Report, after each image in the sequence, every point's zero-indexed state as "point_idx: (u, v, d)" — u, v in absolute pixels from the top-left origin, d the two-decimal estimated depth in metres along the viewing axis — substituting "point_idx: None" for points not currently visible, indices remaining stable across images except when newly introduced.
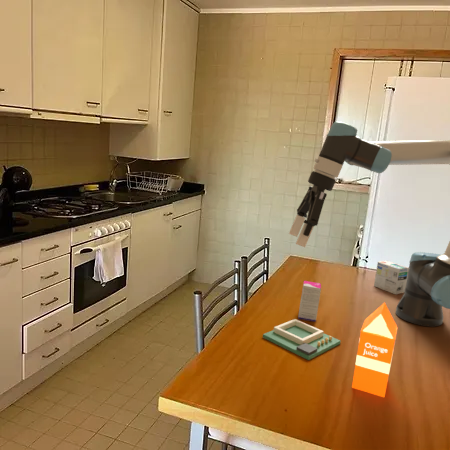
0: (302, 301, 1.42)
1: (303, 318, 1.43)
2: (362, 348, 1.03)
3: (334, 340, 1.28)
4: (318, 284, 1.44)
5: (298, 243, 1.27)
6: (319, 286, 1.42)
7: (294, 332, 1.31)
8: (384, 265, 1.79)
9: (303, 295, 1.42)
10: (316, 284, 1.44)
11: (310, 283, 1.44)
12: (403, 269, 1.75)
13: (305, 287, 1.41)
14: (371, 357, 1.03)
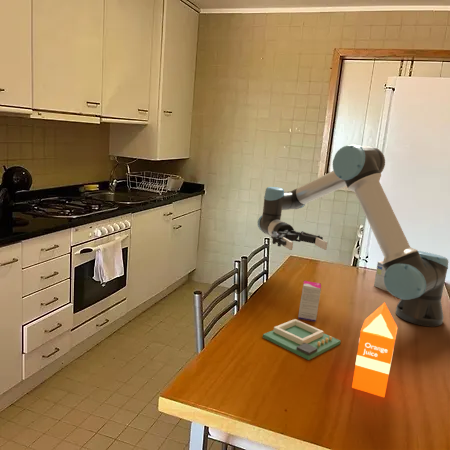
0: (302, 301, 1.42)
1: (303, 318, 1.43)
2: (362, 348, 1.03)
3: (334, 340, 1.28)
4: (318, 284, 1.44)
5: (289, 248, 1.51)
6: (319, 286, 1.42)
7: (294, 332, 1.31)
8: None
9: (303, 295, 1.42)
10: (316, 284, 1.44)
11: (310, 283, 1.44)
12: None
13: (305, 287, 1.41)
14: (371, 357, 1.03)
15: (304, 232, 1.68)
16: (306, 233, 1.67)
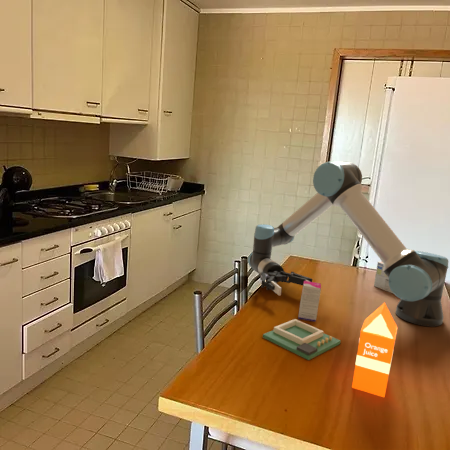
0: (302, 301, 1.42)
1: (303, 318, 1.43)
2: (362, 348, 1.03)
3: (334, 340, 1.28)
4: (318, 284, 1.44)
5: (278, 293, 1.49)
6: (319, 286, 1.42)
7: (294, 332, 1.31)
8: None
9: (303, 295, 1.42)
10: (316, 284, 1.44)
11: (310, 283, 1.44)
12: None
13: (305, 287, 1.41)
14: (371, 357, 1.03)
15: None
16: (296, 274, 1.65)
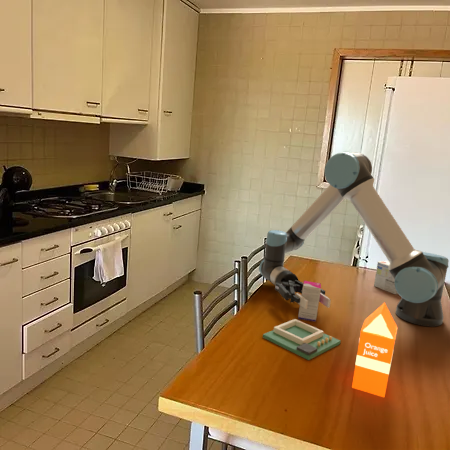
0: None
1: (303, 318, 1.43)
2: (362, 348, 1.03)
3: (334, 340, 1.28)
4: (318, 284, 1.44)
5: (304, 306, 1.39)
6: (319, 286, 1.42)
7: (294, 332, 1.31)
8: (384, 265, 1.79)
9: (303, 295, 1.42)
10: (316, 283, 1.44)
11: (310, 283, 1.44)
12: None
13: (305, 287, 1.41)
14: (371, 357, 1.03)
15: None
16: None
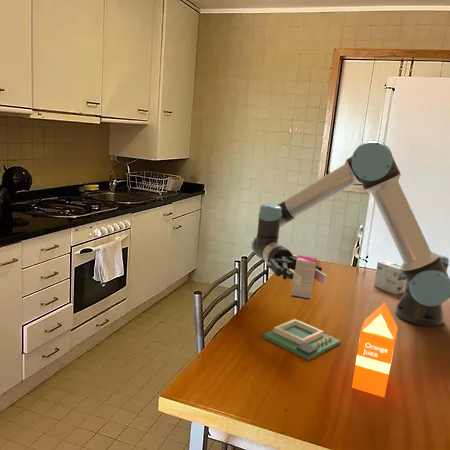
0: None
1: (296, 296, 1.29)
2: (362, 348, 1.03)
3: (334, 340, 1.28)
4: (313, 259, 1.30)
5: (297, 282, 1.25)
6: (314, 260, 1.28)
7: (294, 332, 1.31)
8: (384, 265, 1.79)
9: (296, 270, 1.28)
10: (311, 258, 1.30)
11: (304, 257, 1.30)
12: None
13: (298, 261, 1.27)
14: (371, 357, 1.03)
15: None
16: None
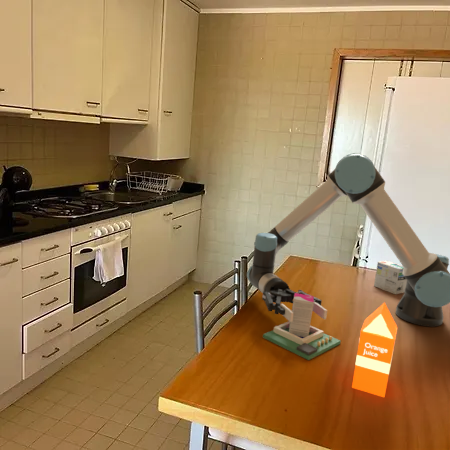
0: None
1: None
2: (362, 348, 1.03)
3: (334, 340, 1.28)
4: (310, 297, 1.29)
5: (289, 319, 1.23)
6: (311, 299, 1.27)
7: None
8: (384, 265, 1.79)
9: (293, 310, 1.26)
10: (308, 296, 1.29)
11: (301, 296, 1.29)
12: None
13: (296, 301, 1.26)
14: (371, 357, 1.03)
15: (302, 291, 1.41)
16: (303, 293, 1.39)
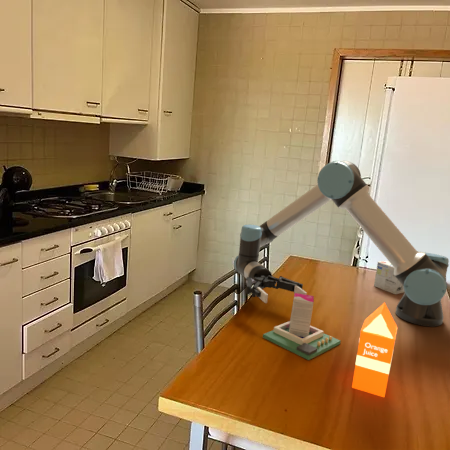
0: (292, 316, 1.27)
1: None
2: (362, 348, 1.03)
3: (334, 340, 1.28)
4: (310, 297, 1.29)
5: (264, 300, 1.35)
6: (311, 299, 1.27)
7: None
8: (384, 265, 1.79)
9: (293, 310, 1.26)
10: (308, 296, 1.29)
11: (301, 296, 1.29)
12: None
13: (296, 301, 1.26)
14: (371, 357, 1.03)
15: (283, 277, 1.53)
16: (285, 279, 1.51)
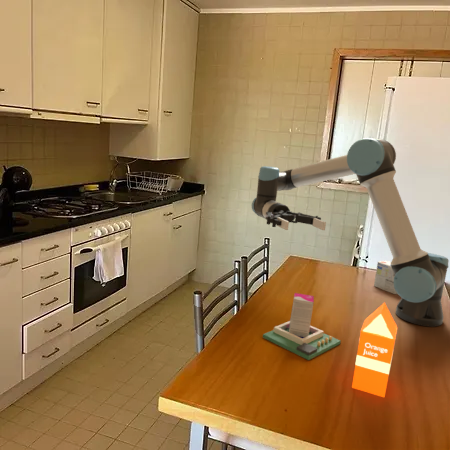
0: (292, 316, 1.27)
1: None
2: (362, 348, 1.03)
3: (334, 340, 1.28)
4: (310, 297, 1.29)
5: (285, 228, 1.39)
6: (311, 299, 1.27)
7: None
8: (384, 265, 1.79)
9: (293, 310, 1.26)
10: (308, 296, 1.29)
11: (301, 296, 1.29)
12: None
13: (296, 301, 1.26)
14: (371, 357, 1.03)
15: (301, 213, 1.57)
16: (303, 214, 1.55)
